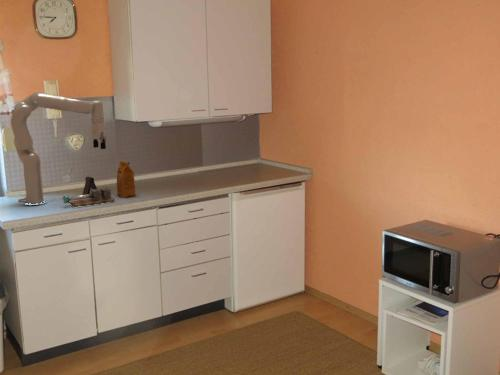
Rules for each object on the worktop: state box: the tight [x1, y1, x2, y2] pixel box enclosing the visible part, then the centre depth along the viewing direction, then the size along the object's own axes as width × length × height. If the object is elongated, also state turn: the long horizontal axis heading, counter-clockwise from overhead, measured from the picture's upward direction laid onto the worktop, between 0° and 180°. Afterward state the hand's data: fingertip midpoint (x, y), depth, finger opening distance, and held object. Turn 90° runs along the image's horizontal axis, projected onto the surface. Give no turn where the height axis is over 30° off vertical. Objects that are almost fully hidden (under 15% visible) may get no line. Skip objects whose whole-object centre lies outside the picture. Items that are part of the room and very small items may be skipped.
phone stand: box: [82, 176, 98, 195], centre depth 375 cm, size 9×6×12 cm, turn 131°
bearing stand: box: [68, 187, 115, 208], centre depth 356 cm, size 24×12×8 cm, turn 122°
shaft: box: [62, 193, 94, 204], centre depth 353 cm, size 20×4×4 cm, turn 122°
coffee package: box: [116, 159, 136, 198], centre depth 372 cm, size 10×12×22 cm
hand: (99, 148), depth 372 cm, fingers open, 9 cm apart
